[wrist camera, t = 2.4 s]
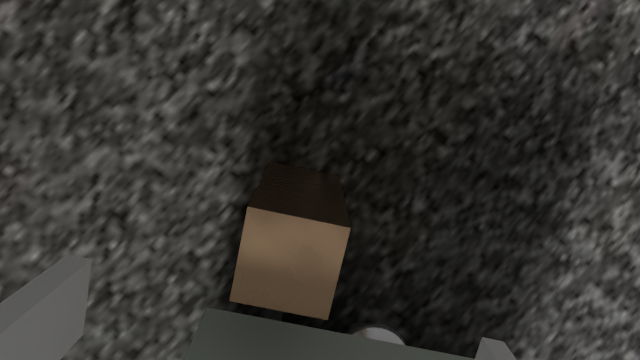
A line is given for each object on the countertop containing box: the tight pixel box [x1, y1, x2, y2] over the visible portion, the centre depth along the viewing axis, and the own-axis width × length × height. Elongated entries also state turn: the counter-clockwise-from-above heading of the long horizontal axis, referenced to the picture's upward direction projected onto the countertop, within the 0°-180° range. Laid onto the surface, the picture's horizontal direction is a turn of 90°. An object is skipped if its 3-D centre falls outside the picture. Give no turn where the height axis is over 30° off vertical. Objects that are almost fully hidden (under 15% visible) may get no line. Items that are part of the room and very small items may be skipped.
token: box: [346, 323, 405, 345], centre depth 32 cm, size 5×5×1 cm
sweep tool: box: [229, 161, 351, 321], centre depth 26 cm, size 15×4×10 cm, turn 167°
